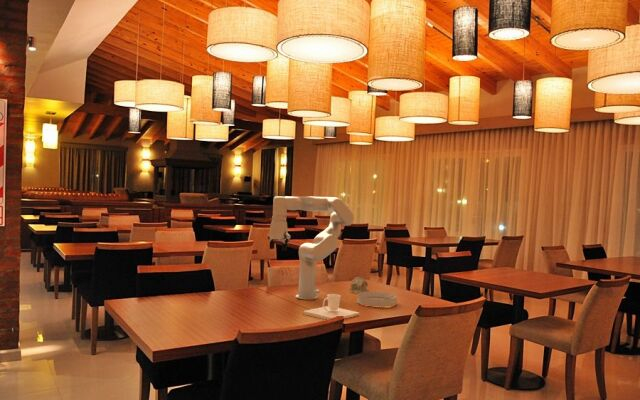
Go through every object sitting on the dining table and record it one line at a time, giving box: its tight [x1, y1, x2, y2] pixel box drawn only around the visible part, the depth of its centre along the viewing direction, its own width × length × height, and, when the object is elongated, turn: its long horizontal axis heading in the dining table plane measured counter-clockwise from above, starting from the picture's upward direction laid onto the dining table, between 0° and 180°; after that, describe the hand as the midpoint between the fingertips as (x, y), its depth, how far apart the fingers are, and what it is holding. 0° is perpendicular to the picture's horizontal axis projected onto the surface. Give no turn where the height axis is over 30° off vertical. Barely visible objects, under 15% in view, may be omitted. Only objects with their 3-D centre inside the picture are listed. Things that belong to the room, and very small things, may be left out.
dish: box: [356, 291, 397, 307], centre depth 294 cm, size 22×22×5 cm
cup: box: [322, 293, 342, 312], centre depth 262 cm, size 7×10×8 cm
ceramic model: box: [348, 275, 370, 293], centre depth 326 cm, size 14×11×10 cm
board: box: [302, 305, 360, 321], centre depth 261 cm, size 20×20×2 cm
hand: (278, 249), depth 289 cm, fingers open, 9 cm apart
